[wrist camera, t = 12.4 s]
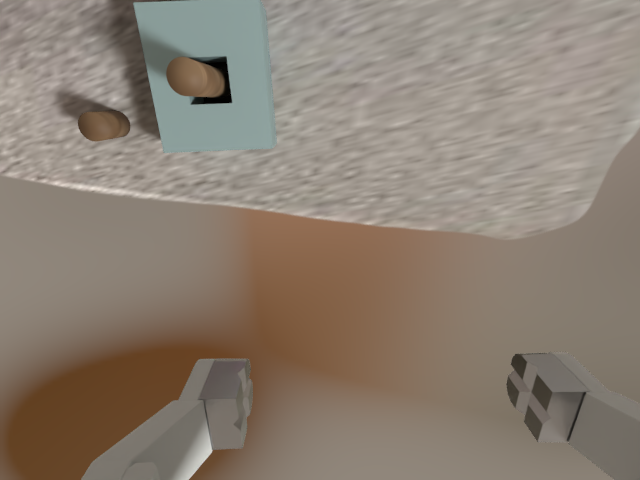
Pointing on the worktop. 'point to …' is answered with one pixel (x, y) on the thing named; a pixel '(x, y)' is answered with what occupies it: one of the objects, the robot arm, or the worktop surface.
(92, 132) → the short dowel
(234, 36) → the hole block
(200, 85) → the long dowel
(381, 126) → the worktop surface
